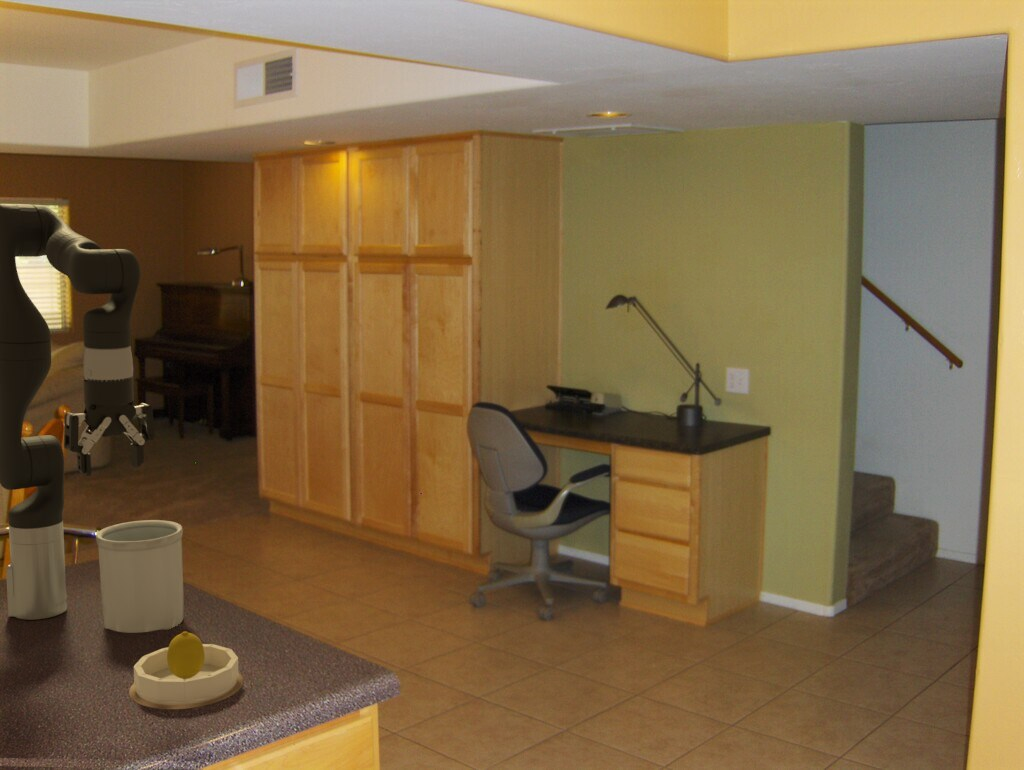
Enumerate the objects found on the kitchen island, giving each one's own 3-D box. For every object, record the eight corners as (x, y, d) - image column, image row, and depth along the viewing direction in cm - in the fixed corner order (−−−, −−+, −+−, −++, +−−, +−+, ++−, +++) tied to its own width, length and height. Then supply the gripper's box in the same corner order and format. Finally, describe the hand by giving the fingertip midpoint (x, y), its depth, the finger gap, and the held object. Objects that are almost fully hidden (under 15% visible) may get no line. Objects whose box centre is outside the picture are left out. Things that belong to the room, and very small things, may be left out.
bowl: (121, 705, 159) (120, 680, 159) (155, 665, 174) (154, 643, 173) (222, 706, 159) (221, 682, 159) (247, 667, 174) (246, 644, 173)
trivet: (112, 713, 158) (112, 708, 158) (151, 668, 175) (151, 663, 175) (227, 715, 158) (227, 709, 158) (255, 669, 175) (255, 664, 175)
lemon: (196, 689, 163) (194, 639, 162) (162, 687, 164) (159, 637, 162) (211, 673, 169) (209, 625, 167) (177, 672, 169) (175, 624, 168)
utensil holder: (83, 635, 189) (79, 539, 187) (123, 607, 204) (120, 517, 201) (163, 640, 187) (160, 543, 185) (198, 611, 202) (195, 521, 200)
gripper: (138, 365, 180) (141, 459, 183) (54, 374, 170) (58, 472, 173) (160, 372, 175) (162, 468, 178) (75, 382, 165) (78, 483, 168)
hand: (111, 470), depth 176 cm, fingers open, 8 cm apart
